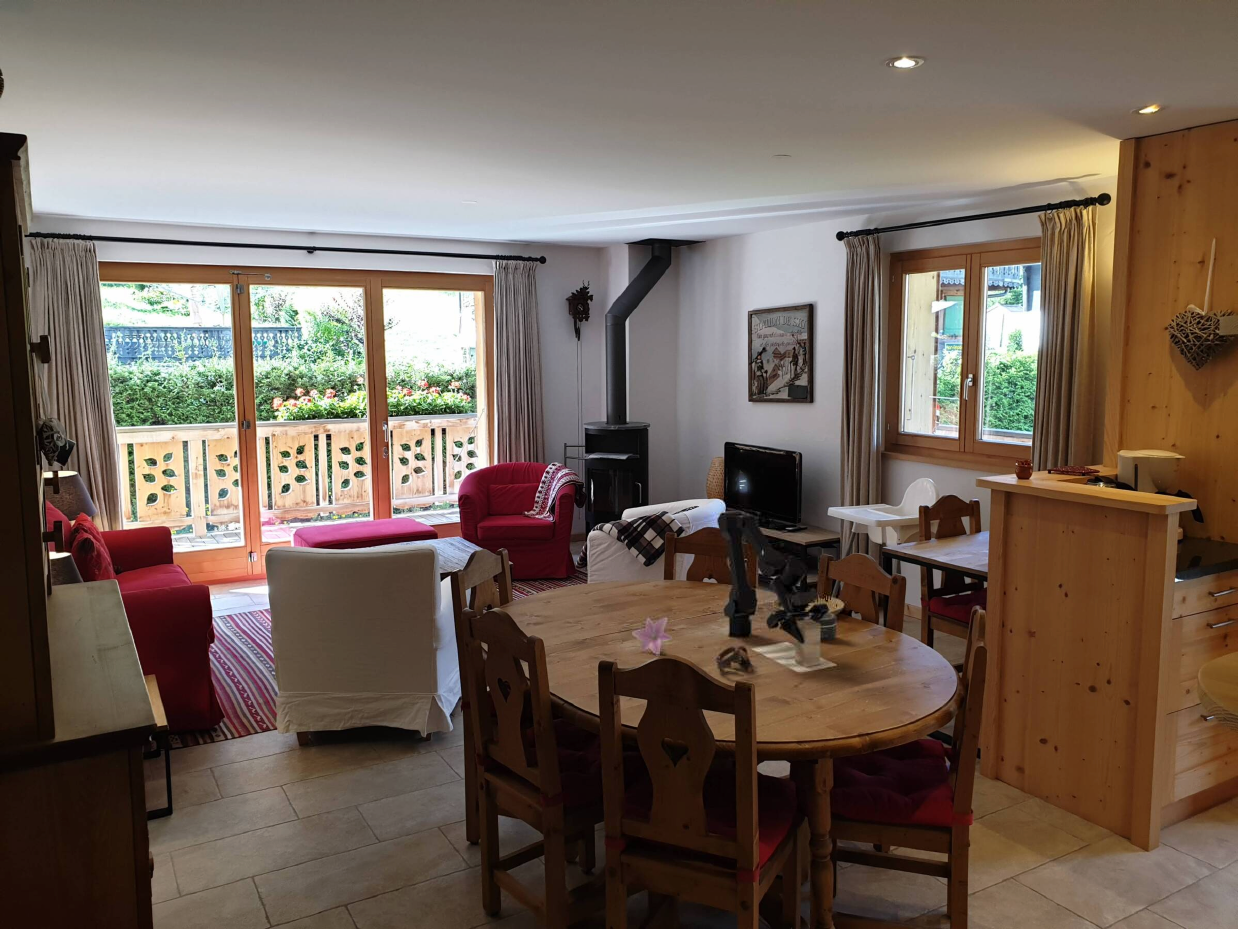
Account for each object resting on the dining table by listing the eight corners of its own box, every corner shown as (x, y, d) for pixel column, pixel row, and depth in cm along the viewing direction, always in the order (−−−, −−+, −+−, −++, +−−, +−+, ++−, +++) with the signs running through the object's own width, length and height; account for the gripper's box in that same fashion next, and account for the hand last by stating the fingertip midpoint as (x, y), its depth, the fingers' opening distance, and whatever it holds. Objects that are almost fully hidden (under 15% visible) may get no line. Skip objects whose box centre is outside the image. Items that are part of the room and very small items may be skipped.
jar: (836, 644, 277) (837, 620, 276) (803, 643, 279) (803, 619, 278) (835, 634, 286) (836, 611, 286) (803, 633, 288) (803, 610, 288)
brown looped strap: (751, 681, 249) (736, 657, 248) (723, 691, 254) (708, 667, 252) (762, 657, 259) (747, 634, 258) (734, 667, 264) (720, 644, 263)
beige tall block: (795, 662, 259) (795, 621, 257) (808, 659, 261) (808, 619, 259) (806, 667, 254) (806, 626, 252) (820, 664, 256) (820, 623, 255)
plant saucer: (759, 608, 319) (759, 599, 318) (815, 599, 328) (815, 590, 328) (799, 626, 297) (799, 616, 296) (858, 616, 307) (858, 606, 306)
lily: (629, 649, 280) (624, 627, 274) (659, 629, 285) (654, 607, 279) (653, 670, 271) (648, 648, 266) (683, 649, 276) (679, 627, 271)
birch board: (750, 651, 272) (750, 648, 272) (786, 645, 277) (786, 641, 277) (799, 676, 250) (799, 672, 250) (837, 668, 256) (837, 665, 256)
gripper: (772, 584, 254) (796, 632, 245) (825, 575, 262) (850, 622, 253) (756, 604, 262) (778, 652, 253) (808, 596, 270) (832, 642, 261)
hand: (810, 641), depth 255 cm, fingers closed on beige tall block, 5 cm apart
